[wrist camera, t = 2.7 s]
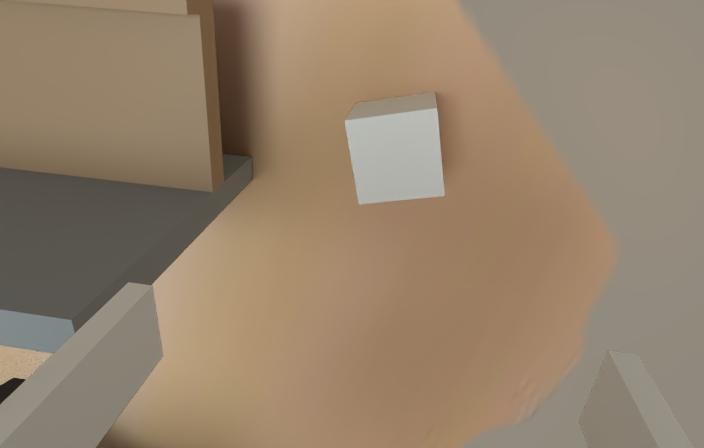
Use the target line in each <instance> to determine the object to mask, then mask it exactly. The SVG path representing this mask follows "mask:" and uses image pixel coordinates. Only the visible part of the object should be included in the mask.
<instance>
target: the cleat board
mask: <svg viewBox="0 0 704 448" xmlns="http://www.w3.org/2000/svg"><path fill="white" fill-rule="evenodd" d="M252 179H253V174H252V157H249V156H240V155H231V154H222V140H221V124H220V108H219V91H218V75H217V59H216V43H215V27H214V11H213V0H0V345H3V346H9V347H16V348H22V349H28V350H35V351H41V352H47V353H55V352H56V351H57V350H58V349H59V348H60V347H61V346H62V345H63V344H64V343H65V342H66V341H67V340H68V339H69V338H70V337H72V336H73V335H74V334H75V333H76V332H77V331H78V330H79V329H80V328H81V327H82V326H83V325H84V324H85V323H86V322H87V321H88V320H89V319H90V318H91V317H93V316H94V315H95V314H96V313H97V312H98V311H99V310H100V309H101V308H102V307H103V306H104V305H105V304H106V303H107V302H108V301H109V300H110V299H111V298H112V297H113V296H115V295H116V294H117V293H118V292H119V291H120V290H121V289H122V288H123V287H124V286H125V285H126V284H127V283H128V282H131V283H138V284H145V285H152V284H153V283H154V281H155V280H156V279H157V278H158V277H159V276H160V275H161V274H162V273H163V272H164V271H165V270H166V269H167V268H168V267H169V266H170V265H171V264H172V263H173V262H174V261H175V260H176V259H177V258H178V257H179V255H180V254H181V253H182V252H183V251H184V250H185V249H186V248H187V247H188V246H189V245H190V244H191V243H192V242H193V241H194V240H195V239H196V238H197V237H198V236H199V235H200V234H201V233H202V232H203V230H204V229H205V228H206V227H207V226H208V225H209V224H210V223H211V222H212V221H213V220H214V219H215V218H216V217H217V216H218V215H219V214H220V213H221V212H222V211H223V210H224V209H225V208H226V207H227V205H228V204H229V203H230V202H231V201H232V200H233V199H234V198H235V197H236V196H237V195H238V194H239V193H240V192H241V191H242V190H243V189H244V188H245V187H246V186H247V185H248V184H249V183H250V182H251V181H252Z"/></svg>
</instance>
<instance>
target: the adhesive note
mask: <svg viewBox="0 0 704 448" xmlns="http://www.w3.org/2000/svg"><path fill="white" fill-rule="evenodd" d="M344 121H345V127H346V133H347V139H348V145H349V150H350V156H351V162H352V168H353V174H354V180H355V186H356V191H357V197H358V203H359V204H369V203H379V202H389V201H399V200H409V199H419V198H429V197H440V196H445V193H444V181H443V170H442V158H441V146H440V135H439V123H438V112H437V103H436V95H435V92H429V93H422V94H415V95H408V96H401V97H394V98H387V99H380V100H373V101H366V102H359V103H356V104H355V105H354V107H353V108H352V110H351V111H350V113H349V114H348V116H347V117H346V119H345V120H344Z"/></svg>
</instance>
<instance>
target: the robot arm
mask: <svg viewBox="0 0 704 448" xmlns="http://www.w3.org/2000/svg"><path fill="white" fill-rule="evenodd" d="M162 357H163V350H162V344H161V337H160V331H159V324H158V318H157V312H156V305H155V299H154V292H153V286H152V285H145V284H138V283H131V282H128V283H127V284H126V285H125V286H124V287H123V288H122V289H121V290H120V291H119V292H118V293H117V294H116V295H115V296H113V297H112V298H111V299H110V300H109V301H108V302H107V303H106V304H105V305H104V306H103V307H102V308H101V309H100V310H99V311H98V312H97V313H96V314H95V315H94V316H93V317H91V318H90V319H89V320H88V321H87V322H86V323H85V324H84V325H83V326H82V327H81V328H80V329H79V330H78V331H77V332H76V333H75V334H74V335H73V336H72V337H70V338H69V339H68V340H67V341H66V342H65V343H64V344H63V345H62V346H61V347H60V348H59V349H58V350H57V351H56V352H55V353H54V354H53V355H52V356H51V357H49V358H48V359H47V360H46V361H45V362H44V363H43V364H42V365H41V366H40V367H39V368H38V369H37V370H36V371H35V372H34V373H33V374H32V375H31V376H30V377H28V378H27V379H26V380H25V379H19V378H13V379H11V380H9V381H7V382H6V383H4V384H2V385H0V448H96V447H97V445H98V444H99V443H100V441H101V440H102V439H103V437H104V436H105V434H106V433H107V432H108V430H109V429H110V428H111V426H112V425H113V424H114V422H115V421H116V420H117V418H118V417H119V415H120V414H121V413H122V411H123V410H124V409H125V407H126V406H127V405H128V403H129V402H130V400H131V399H132V398H133V396H134V395H135V394H136V392H137V391H138V390H139V388H140V387H141V385H142V384H143V383H144V381H145V380H146V379H147V377H148V376H149V375H150V373H151V372H152V371H153V369H154V368H155V366H156V365H157V364H158V362H159V361H160V360H161V358H162ZM579 423H580V425H581V428H582V431H583V434H584V436H585V439H586V442H587V444H588V447H589V448H693V446H692V445H691V443H690V441H689V440H688V438H687V436H686V435H685V433H684V431H683V430H682V428H681V426H680V425H679V423H678V421H677V420H676V418H675V416H674V415H673V413H672V411H671V410H670V408H669V406H668V405H667V403H666V401H665V400H664V398H663V396H662V395H661V393H660V391H659V390H658V388H657V386H656V385H655V383H654V381H653V380H652V378H651V376H650V375H649V373H648V371H647V370H646V368H645V366H644V365H643V363H642V361H641V360H640V358H639V356H638V355H637V354H630V353H624V352H617V351H609V350H608V351H607V354H606V356H605V359H604V361H603V364H602V366H601V368H600V371H599V373H598V376H597V378H596V381H595V383H594V385H593V388H592V390H591V393H590V395H589V398H588V400H587V403H586V405H585V407H584V410H583V412H582V415H581V417H580V420H579Z"/></svg>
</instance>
